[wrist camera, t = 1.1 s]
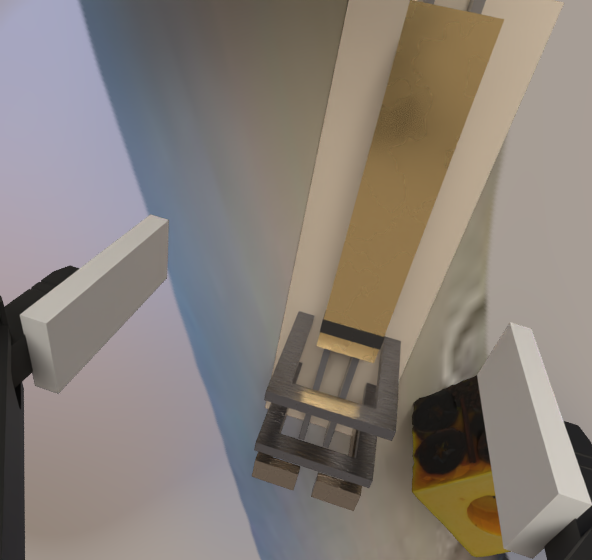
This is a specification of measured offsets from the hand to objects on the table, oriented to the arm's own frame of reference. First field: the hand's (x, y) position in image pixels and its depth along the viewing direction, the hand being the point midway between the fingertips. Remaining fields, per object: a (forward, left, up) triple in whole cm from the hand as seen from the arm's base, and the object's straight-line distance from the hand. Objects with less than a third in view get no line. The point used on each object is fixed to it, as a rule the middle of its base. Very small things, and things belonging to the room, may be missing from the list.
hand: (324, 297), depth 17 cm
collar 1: (+15, +2, -19) cm, 24 cm away
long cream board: (+9, +2, -19) cm, 21 cm away
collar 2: (+21, +2, -19) cm, 28 cm away
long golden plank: (+1, +2, -16) cm, 16 cm away
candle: (+21, +17, -19) cm, 33 cm away
